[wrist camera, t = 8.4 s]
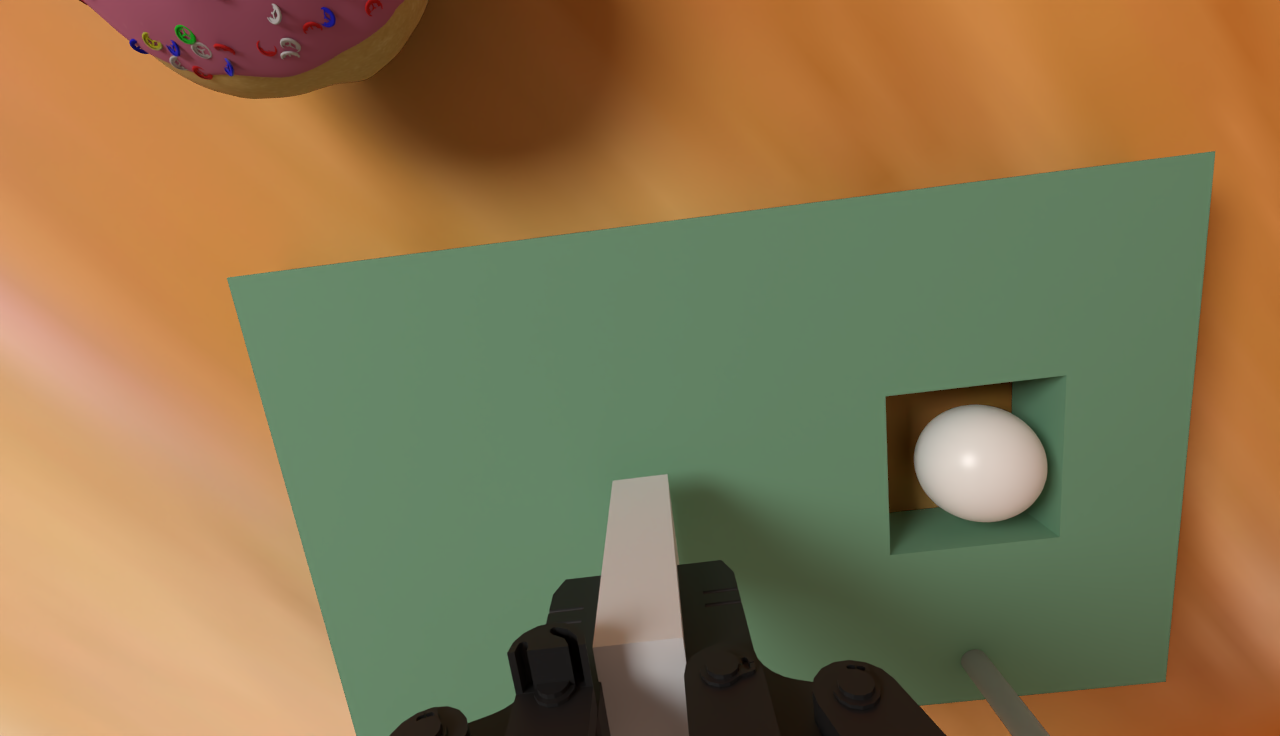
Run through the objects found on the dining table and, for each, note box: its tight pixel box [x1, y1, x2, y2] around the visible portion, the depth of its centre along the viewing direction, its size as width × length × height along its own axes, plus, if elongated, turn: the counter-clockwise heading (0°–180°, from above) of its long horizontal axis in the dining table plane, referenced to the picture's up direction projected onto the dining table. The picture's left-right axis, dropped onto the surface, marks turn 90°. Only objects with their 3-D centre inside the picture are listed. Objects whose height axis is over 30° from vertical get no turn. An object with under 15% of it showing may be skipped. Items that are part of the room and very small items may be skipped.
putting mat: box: [227, 151, 1215, 736], centre depth 13 cm, size 16×26×14 cm, turn 97°
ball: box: [914, 404, 1047, 522], centre depth 18 cm, size 4×4×4 cm
